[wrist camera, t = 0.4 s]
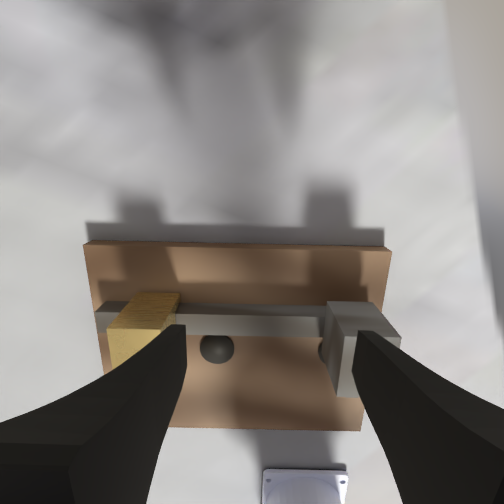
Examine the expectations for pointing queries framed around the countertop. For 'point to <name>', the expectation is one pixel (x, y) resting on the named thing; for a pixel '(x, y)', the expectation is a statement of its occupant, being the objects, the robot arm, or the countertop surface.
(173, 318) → the leg
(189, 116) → the countertop surface
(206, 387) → the board
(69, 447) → the robot arm
